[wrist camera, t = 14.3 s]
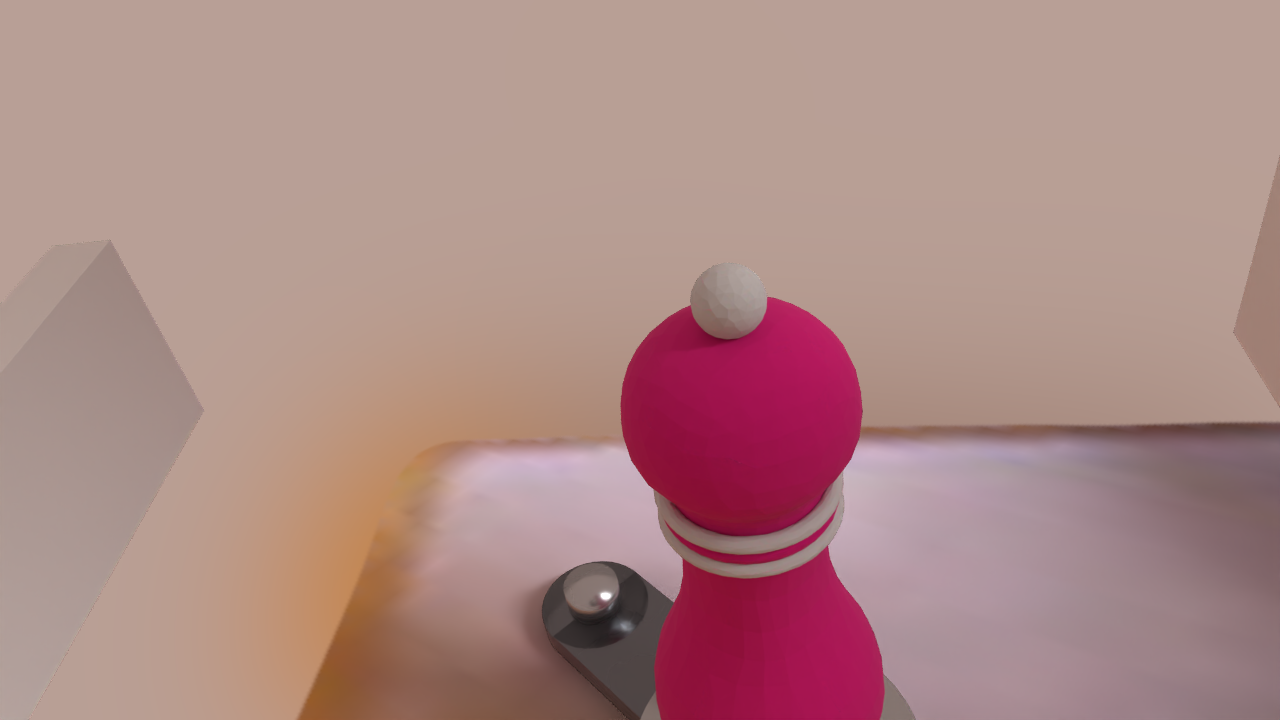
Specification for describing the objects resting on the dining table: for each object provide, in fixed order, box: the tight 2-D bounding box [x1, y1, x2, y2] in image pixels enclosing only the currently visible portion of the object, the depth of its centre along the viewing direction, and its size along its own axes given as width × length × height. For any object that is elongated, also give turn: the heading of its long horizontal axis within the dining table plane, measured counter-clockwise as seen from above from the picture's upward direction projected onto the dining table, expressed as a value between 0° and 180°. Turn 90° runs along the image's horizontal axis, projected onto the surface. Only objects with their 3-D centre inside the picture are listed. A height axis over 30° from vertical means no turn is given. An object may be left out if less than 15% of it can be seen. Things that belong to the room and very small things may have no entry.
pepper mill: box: [621, 263, 885, 720], centre depth 30 cm, size 7×7×20 cm
